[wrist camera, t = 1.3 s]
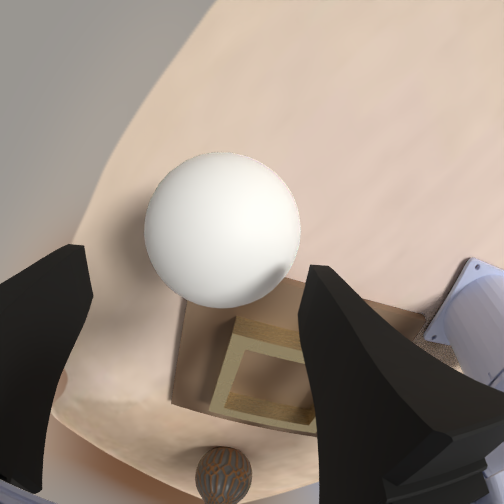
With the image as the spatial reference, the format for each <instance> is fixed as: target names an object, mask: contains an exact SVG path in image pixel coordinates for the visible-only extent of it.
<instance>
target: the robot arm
mask: <svg viewBox="0 0 504 504" xmlns="http://www.w3.org/2000/svg"><path fill="white" fill-rule="evenodd" d="M477 264H478V266H477V267H476V268H475V266H476V265H477ZM92 299H93V292H92V287H91V282H90V277H89V271H88V266H87V260H86V255H85V248H84V246H83V245H72V244H68V245H65V246H63V247H61V248H59V249H57V250H55V251H54V252H52V253H50V254H49V255H47V256H45V257H44V258H42V259H40V260H39V261H37V262H36V263H34V264H32V265H31V266H29V267H28V268H26V269H24V270H23V271H21V272H20V273H18V274H16V275H15V276H13V277H11V278H9V279H8V280H6V281H5V282H3V283H1V284H0V479H1V480H0V504H57V503H54V502H51V501H49V500H46V499H43V498H41V497H38V496H36V495H33V494H36V493H38V492H40V491H41V490H42V471H43V470H42V469H43V455H44V447H45V439H46V432H47V426H48V421H49V416H50V412H51V407H52V403H53V399H54V395H55V392H56V388H57V385H58V382H59V379H60V376H61V373H62V371H63V369H64V367H65V364H66V362H67V360H68V358H69V355H70V353H71V351H72V349H73V347H74V344H75V342H76V340H77V338H78V336H79V334H80V331H81V329H82V327H83V325H84V323H85V320H86V317H87V314H88V312H89V309H90V305H91V302H92ZM297 315H298V327H299V337H300V344H301V349H302V353H303V358H304V362H305V366H306V371H307V375H308V379H309V384H310V388H311V393H312V397H313V403H314V408H315V417H316V427H317V439H318V455H319V486H320V487H319V490H320V491H319V504H504V270H502V269H500V268H498V267H495V266H493V265H491V264H488V263H486V262H484V261H481V260H479V259H476V258H473V257H472V258H470V259H469V260H468V261H467V263H466V264H465V266H464V268H463V270H462V272H461V274H460V275H459V277H458V279H457V281H456V282H455V284H454V286H453V288H452V289H451V291H450V293H449V294H448V296H447V298H446V299H445V301H444V303H443V304H442V306H441V308H440V309H439V311H438V312H437V314H436V316H435V317H434V319H433V320H432V322H431V323H430V325H429V326H428V328H427V329H426V331H425V332H424V334H423V337H424V339H425V340H427V341H431V342H436V343H441V344H445V345H450V346H451V347H452V349H453V351H454V353H455V356H456V358H457V360H458V362H459V364H460V367H461V369H462V371H463V373H464V374H462V373H460V372H458V371H456V370H455V369H453V368H451V367H449V366H448V365H446V364H444V363H443V362H441V361H439V360H438V359H436V358H435V357H433V356H432V355H430V354H428V353H427V352H425V351H424V350H423V349H421V348H420V347H418V346H417V345H416V344H414V343H413V342H412V341H410V340H409V339H408V338H406V337H405V336H404V335H402V334H401V333H400V332H399V331H397V330H396V329H395V328H394V327H392V326H391V325H390V324H389V323H388V322H387V321H386V320H385V319H383V318H382V317H381V316H380V315H379V314H378V313H377V312H376V311H375V310H373V309H372V308H371V307H370V306H369V305H368V304H367V303H366V302H365V301H364V300H363V299H362V298H361V297H360V296H359V295H358V294H357V293H356V292H355V291H354V290H353V289H352V288H351V287H350V286H349V285H348V284H347V283H346V282H345V281H344V280H343V279H342V278H341V277H340V276H339V275H338V274H337V273H336V272H335V271H334V270H333V269H332V268H331V267H329V266H322V265H310V267H309V271H308V275H307V279H306V283H305V287H304V291H303V295H302V299H301V303H300V307H299V310H298V314H297ZM434 335H435V336H434ZM432 336H433V337H432ZM2 480H3V481H2ZM4 481H5V482H4ZM6 482H7V483H6ZM8 483H9V484H8ZM10 484H12V485H10ZM13 485H14V486H13ZM15 486H16V487H15ZM17 487H18V488H17ZM19 488H20V489H19ZM22 489H23V490H22ZM24 490H25V491H24ZM26 491H27V492H26ZM29 492H30V493H29ZM31 493H32V494H31Z"/></svg>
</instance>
